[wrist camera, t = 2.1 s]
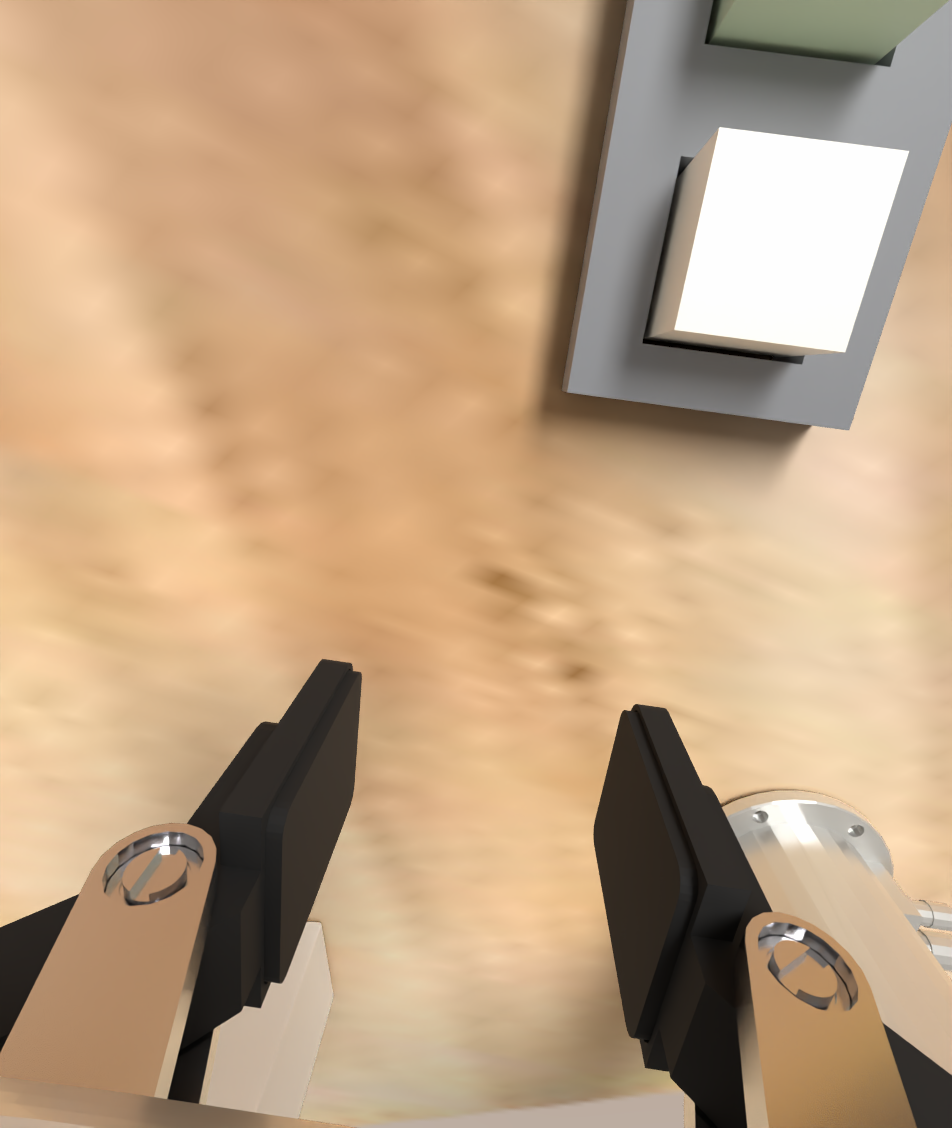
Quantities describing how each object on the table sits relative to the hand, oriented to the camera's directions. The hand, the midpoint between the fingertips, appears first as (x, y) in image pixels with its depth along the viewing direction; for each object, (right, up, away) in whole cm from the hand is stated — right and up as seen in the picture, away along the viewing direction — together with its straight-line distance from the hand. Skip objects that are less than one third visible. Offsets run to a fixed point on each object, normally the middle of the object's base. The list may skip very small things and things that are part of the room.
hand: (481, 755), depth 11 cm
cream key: (+11, +16, +13) cm, 23 cm away
